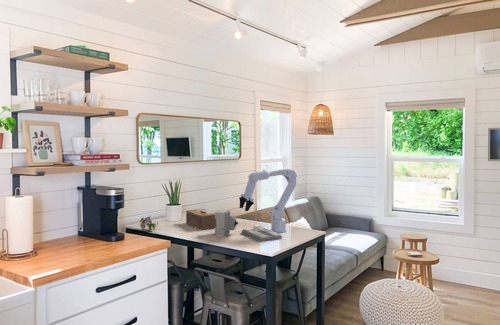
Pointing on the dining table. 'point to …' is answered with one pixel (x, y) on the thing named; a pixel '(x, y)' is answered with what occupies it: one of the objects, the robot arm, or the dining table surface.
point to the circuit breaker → (224, 222)
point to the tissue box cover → (201, 219)
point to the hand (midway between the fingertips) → (243, 209)
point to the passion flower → (147, 223)
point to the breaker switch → (256, 227)
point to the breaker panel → (261, 234)
